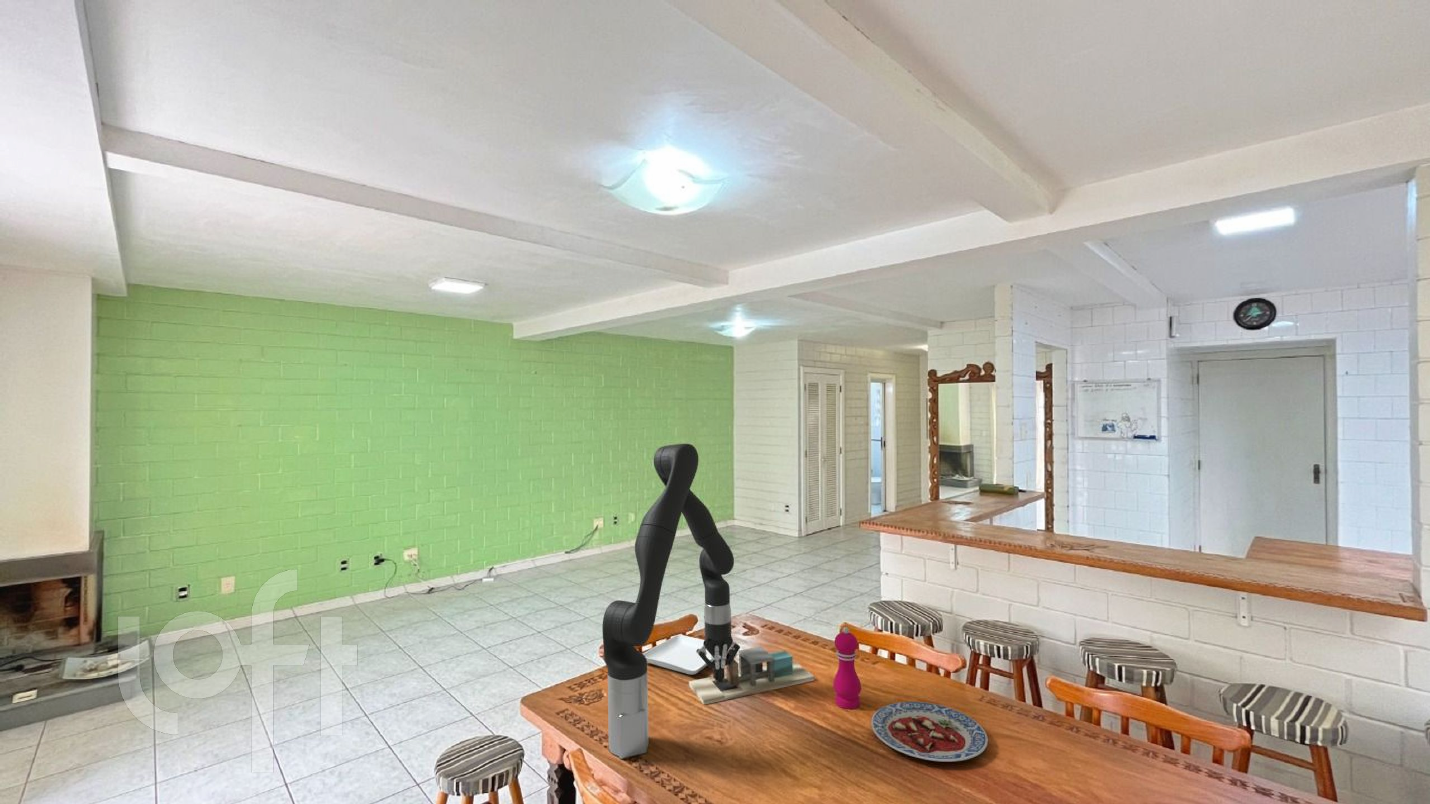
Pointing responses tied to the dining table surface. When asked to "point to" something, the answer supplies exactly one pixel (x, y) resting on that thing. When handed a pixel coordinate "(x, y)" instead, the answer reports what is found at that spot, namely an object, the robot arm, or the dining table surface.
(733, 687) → the deck tunnel
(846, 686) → the pepper mill
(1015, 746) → the dining table surface
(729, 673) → the sled
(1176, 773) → the dining table surface
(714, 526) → the robot arm
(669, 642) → the salad plate
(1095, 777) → the dining table surface
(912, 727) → the ceramic plate
